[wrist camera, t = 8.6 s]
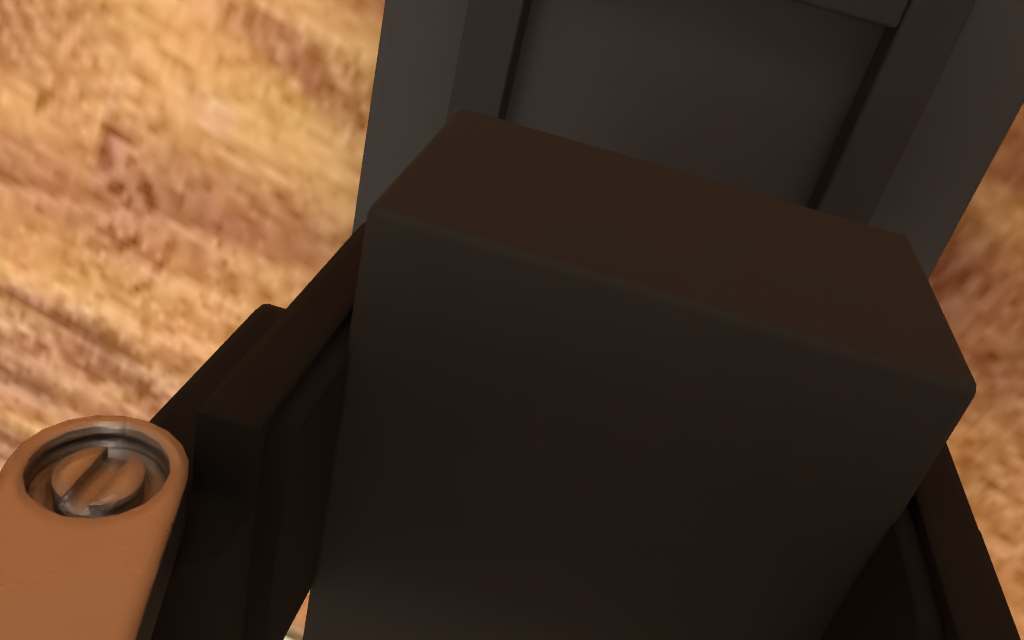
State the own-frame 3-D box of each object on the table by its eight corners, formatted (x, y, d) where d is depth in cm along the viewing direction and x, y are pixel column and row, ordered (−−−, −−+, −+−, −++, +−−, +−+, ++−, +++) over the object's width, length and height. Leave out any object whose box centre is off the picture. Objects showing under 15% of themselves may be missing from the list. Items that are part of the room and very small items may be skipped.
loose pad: (459, 103, 10) (365, 205, 7) (912, 234, 9) (985, 389, 7) (380, 503, 13) (294, 676, 10) (718, 611, 12) (718, 815, 10)
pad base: (425, -176, 17) (349, -175, 13) (1058, -5, 16) (1151, 42, 13) (329, 459, 25) (268, 560, 22) (744, 591, 24) (748, 717, 21)
